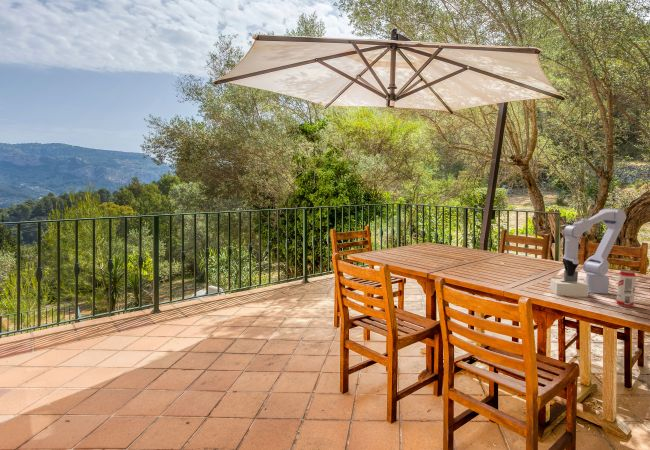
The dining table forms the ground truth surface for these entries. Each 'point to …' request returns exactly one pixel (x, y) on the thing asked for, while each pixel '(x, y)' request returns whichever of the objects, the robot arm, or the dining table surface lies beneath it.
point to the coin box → (569, 288)
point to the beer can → (626, 288)
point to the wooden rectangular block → (570, 278)
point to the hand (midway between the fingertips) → (569, 275)
